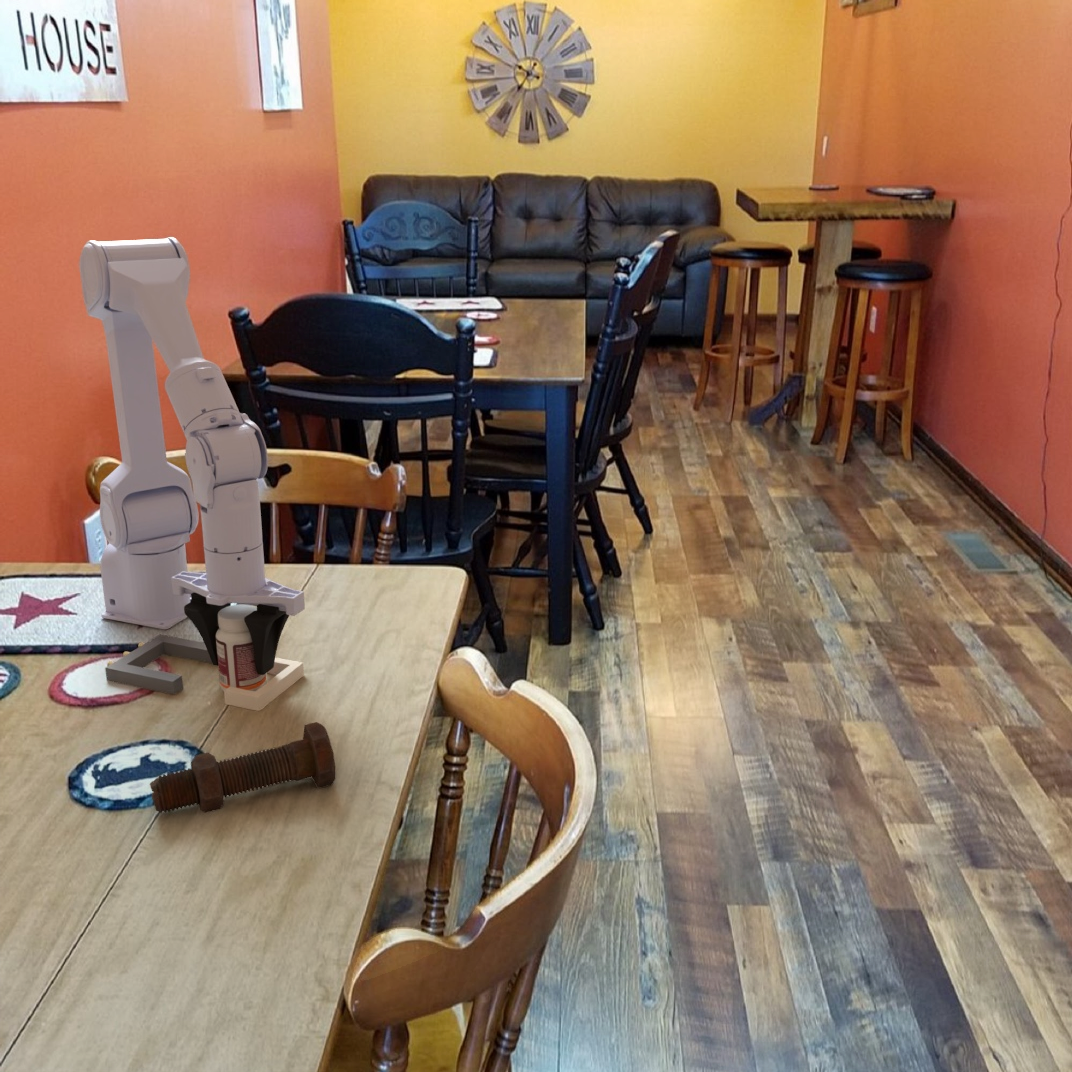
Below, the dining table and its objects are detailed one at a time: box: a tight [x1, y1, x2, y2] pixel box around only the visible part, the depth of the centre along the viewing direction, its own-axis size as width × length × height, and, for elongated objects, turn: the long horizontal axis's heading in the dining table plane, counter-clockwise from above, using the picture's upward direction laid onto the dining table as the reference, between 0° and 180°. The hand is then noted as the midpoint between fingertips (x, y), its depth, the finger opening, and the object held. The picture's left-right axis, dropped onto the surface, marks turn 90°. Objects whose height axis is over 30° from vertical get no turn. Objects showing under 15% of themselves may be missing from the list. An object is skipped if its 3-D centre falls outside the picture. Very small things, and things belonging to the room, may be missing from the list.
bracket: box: [223, 656, 305, 712], centre depth 116 cm, size 4×8×2 cm, turn 160°
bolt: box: [149, 722, 337, 814], centre depth 97 cm, size 6×5×15 cm
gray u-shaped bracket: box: [104, 633, 212, 696], centre depth 120 cm, size 10×9×2 cm
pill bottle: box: [216, 603, 267, 692], centre depth 116 cm, size 5×5×8 cm
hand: (243, 666), depth 117 cm, fingers open, 5 cm apart
